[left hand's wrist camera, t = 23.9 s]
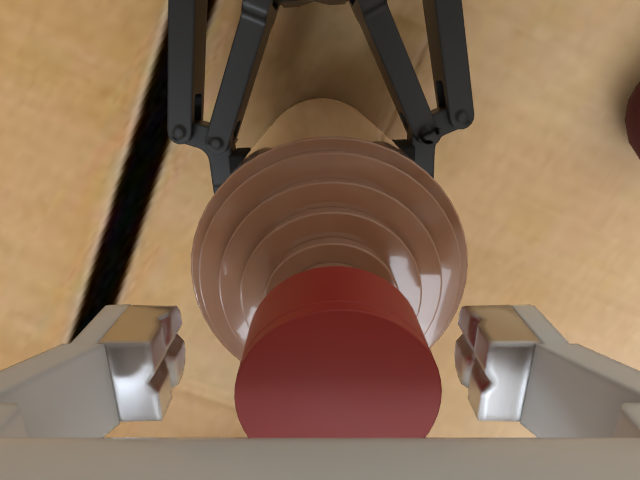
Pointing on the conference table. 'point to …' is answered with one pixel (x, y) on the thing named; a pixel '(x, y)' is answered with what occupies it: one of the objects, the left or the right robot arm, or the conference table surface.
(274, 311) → the cap
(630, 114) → the dark maroon ball
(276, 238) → the bottle
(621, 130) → the conference table surface
